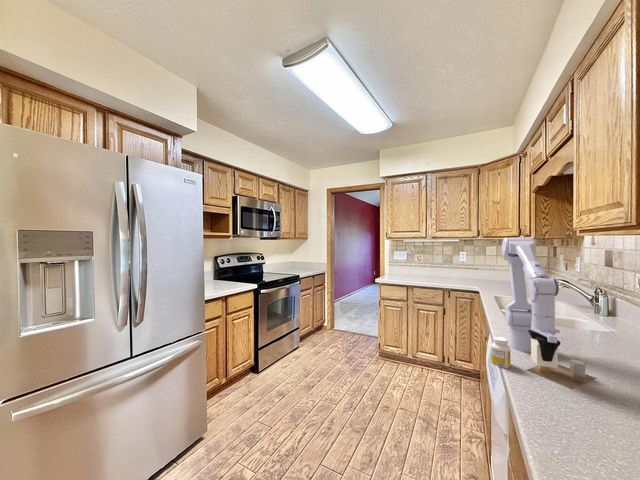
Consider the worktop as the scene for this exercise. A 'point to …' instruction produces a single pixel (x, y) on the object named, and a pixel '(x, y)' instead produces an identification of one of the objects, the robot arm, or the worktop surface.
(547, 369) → the post
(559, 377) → the board
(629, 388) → the worktop surface
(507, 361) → the supplement bottle
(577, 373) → the post
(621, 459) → the worktop surface
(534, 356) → the cream rectangular block
